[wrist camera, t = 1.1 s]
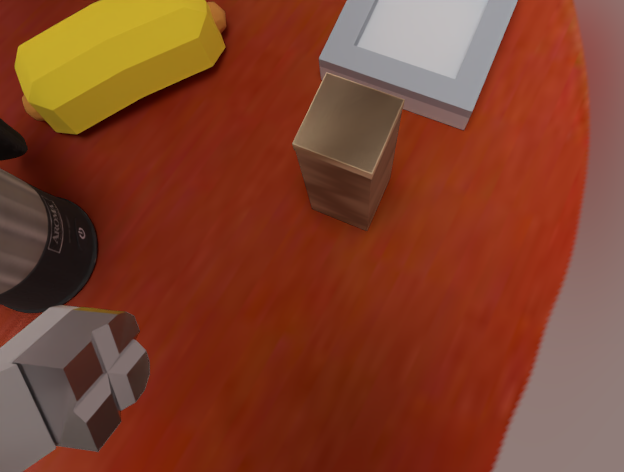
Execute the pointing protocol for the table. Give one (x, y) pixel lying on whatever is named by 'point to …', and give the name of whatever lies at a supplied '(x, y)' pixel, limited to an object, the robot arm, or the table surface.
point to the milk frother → (39, 240)
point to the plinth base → (419, 51)
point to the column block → (348, 148)
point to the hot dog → (115, 57)
